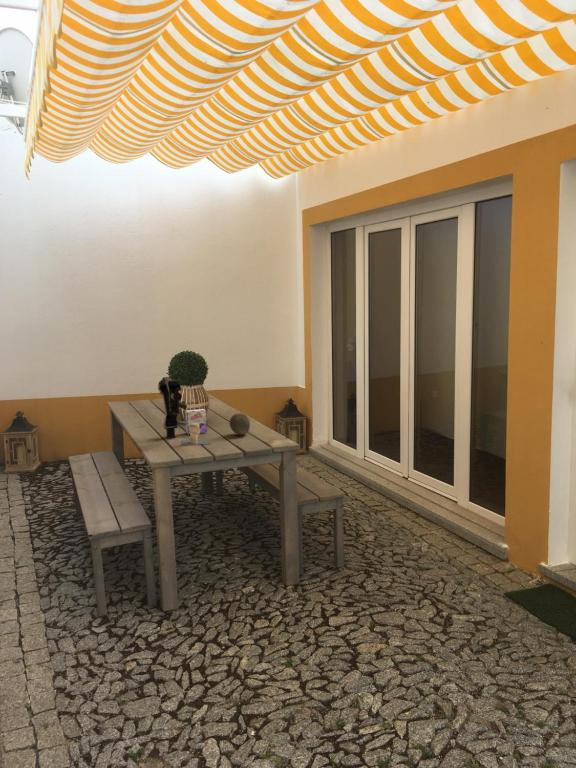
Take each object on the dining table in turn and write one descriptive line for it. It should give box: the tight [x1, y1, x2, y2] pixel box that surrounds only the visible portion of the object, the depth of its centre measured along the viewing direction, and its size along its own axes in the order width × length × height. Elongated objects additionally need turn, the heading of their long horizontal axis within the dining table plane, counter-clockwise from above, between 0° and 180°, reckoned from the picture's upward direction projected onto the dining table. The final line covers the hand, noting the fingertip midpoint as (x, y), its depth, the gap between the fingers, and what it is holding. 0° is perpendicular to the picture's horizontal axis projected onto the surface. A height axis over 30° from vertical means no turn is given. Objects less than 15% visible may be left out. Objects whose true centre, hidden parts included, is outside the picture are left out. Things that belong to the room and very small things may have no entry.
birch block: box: [189, 423, 201, 443], centre depth 423 cm, size 4×4×12 cm
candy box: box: [184, 408, 208, 436], centre depth 451 cm, size 14×6×16 cm, turn 112°
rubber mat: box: [181, 438, 211, 447], centre depth 424 cm, size 14×18×1 cm
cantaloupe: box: [228, 413, 251, 436], centre depth 442 cm, size 14×14×15 cm
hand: (174, 422), depth 427 cm, fingers open, 9 cm apart
